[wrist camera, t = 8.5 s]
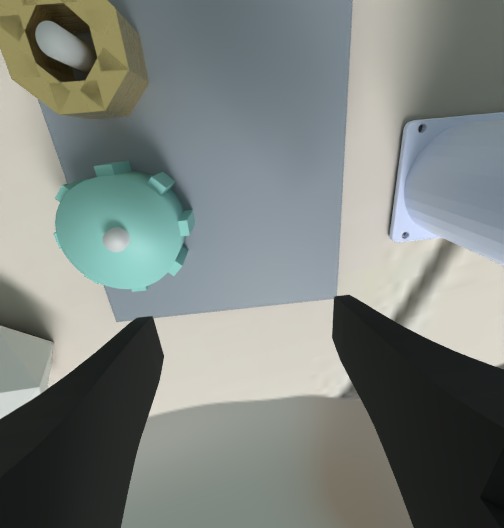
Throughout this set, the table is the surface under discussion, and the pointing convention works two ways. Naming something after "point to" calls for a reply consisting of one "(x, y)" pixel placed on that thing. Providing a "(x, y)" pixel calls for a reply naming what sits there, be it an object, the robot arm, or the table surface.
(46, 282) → the table surface
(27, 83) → the yellow faceted ring
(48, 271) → the table surface
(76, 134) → the gear board
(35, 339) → the die
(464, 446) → the robot arm
